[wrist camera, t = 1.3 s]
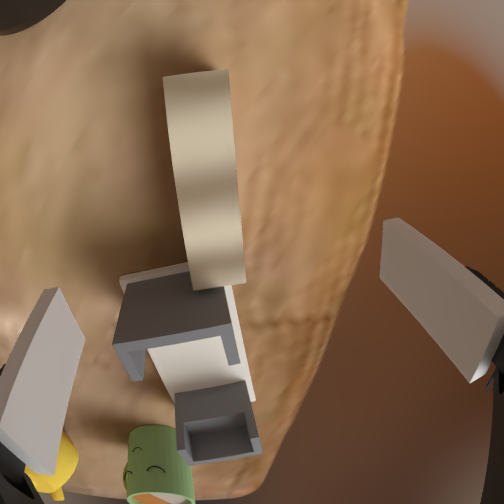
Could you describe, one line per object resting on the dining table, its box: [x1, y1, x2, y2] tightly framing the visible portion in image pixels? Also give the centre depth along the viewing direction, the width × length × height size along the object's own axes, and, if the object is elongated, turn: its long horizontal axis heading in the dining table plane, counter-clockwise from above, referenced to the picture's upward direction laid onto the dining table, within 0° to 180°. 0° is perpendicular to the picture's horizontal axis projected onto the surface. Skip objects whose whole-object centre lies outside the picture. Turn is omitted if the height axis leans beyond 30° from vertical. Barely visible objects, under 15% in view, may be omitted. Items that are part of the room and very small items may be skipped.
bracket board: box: [112, 262, 263, 466], centre depth 33 cm, size 23×11×10 cm, turn 8°
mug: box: [123, 425, 195, 504], centre depth 40 cm, size 13×10×12 cm
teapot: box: [24, 430, 78, 501], centre depth 35 cm, size 20×16×14 cm
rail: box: [163, 69, 246, 291], centre depth 26 cm, size 17×4×6 cm, turn 4°
